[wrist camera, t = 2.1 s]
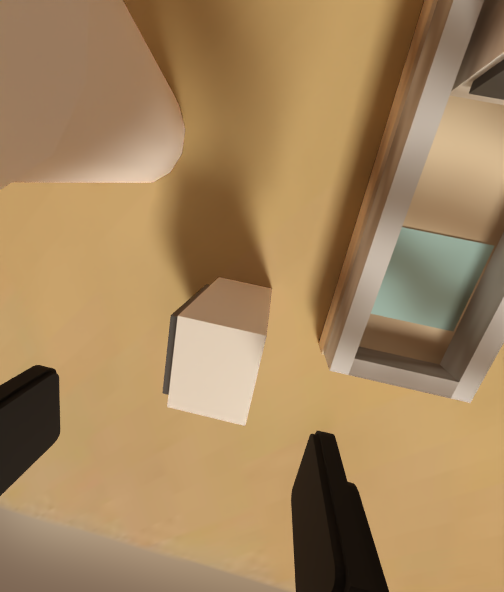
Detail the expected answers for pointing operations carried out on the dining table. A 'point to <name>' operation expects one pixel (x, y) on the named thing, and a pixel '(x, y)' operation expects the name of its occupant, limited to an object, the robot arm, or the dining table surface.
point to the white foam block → (217, 350)
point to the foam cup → (82, 96)
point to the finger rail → (431, 217)
